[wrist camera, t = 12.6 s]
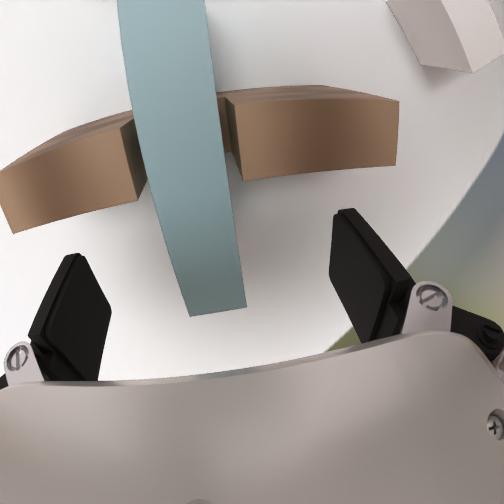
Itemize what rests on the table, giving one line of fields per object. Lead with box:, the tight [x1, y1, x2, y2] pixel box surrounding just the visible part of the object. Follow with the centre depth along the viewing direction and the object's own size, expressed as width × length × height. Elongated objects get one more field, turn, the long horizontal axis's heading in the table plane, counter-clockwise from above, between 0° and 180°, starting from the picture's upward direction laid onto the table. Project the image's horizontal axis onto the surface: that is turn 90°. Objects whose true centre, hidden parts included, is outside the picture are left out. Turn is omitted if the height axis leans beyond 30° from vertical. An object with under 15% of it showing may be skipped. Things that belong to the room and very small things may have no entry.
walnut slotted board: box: [0, 85, 399, 234], centre depth 14 cm, size 18×3×9 cm, turn 97°
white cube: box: [386, 0, 504, 74], centre depth 12 cm, size 6×6×6 cm
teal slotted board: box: [117, 0, 247, 317], centre depth 14 cm, size 3×16×9 cm, turn 7°
